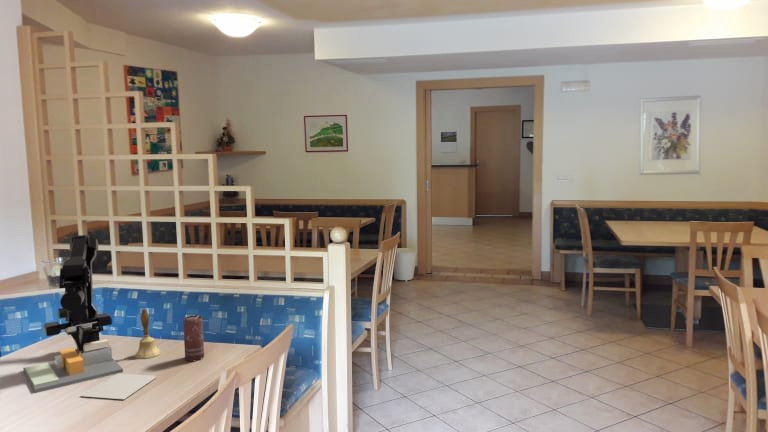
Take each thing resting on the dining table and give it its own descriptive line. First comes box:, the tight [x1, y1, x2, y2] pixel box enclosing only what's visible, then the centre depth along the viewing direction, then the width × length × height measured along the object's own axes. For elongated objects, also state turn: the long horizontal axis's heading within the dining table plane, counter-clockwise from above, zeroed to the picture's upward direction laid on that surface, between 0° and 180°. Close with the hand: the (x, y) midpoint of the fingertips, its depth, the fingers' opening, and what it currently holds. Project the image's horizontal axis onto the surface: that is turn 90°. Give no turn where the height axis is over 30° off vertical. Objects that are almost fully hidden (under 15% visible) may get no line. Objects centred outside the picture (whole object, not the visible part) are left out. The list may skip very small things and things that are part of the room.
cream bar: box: [83, 338, 109, 351], centre depth 187 cm, size 7×2×2 cm, turn 129°
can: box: [182, 315, 205, 361], centre depth 193 cm, size 6×6×14 cm
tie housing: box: [54, 344, 113, 372], centre depth 185 cm, size 16×3×4 cm, turn 129°
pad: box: [25, 362, 59, 386], centre depth 178 cm, size 6×18×1 cm, turn 40°
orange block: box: [59, 347, 84, 375], centre depth 183 cm, size 4×14×4 cm, turn 39°
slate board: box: [22, 357, 124, 393], centre depth 183 cm, size 24×22×1 cm
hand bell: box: [134, 308, 162, 360], centre depth 196 cm, size 8×8×16 cm
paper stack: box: [80, 373, 158, 400], centre depth 165 cm, size 23×25×1 cm
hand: (80, 350), depth 184 cm, fingers closed
